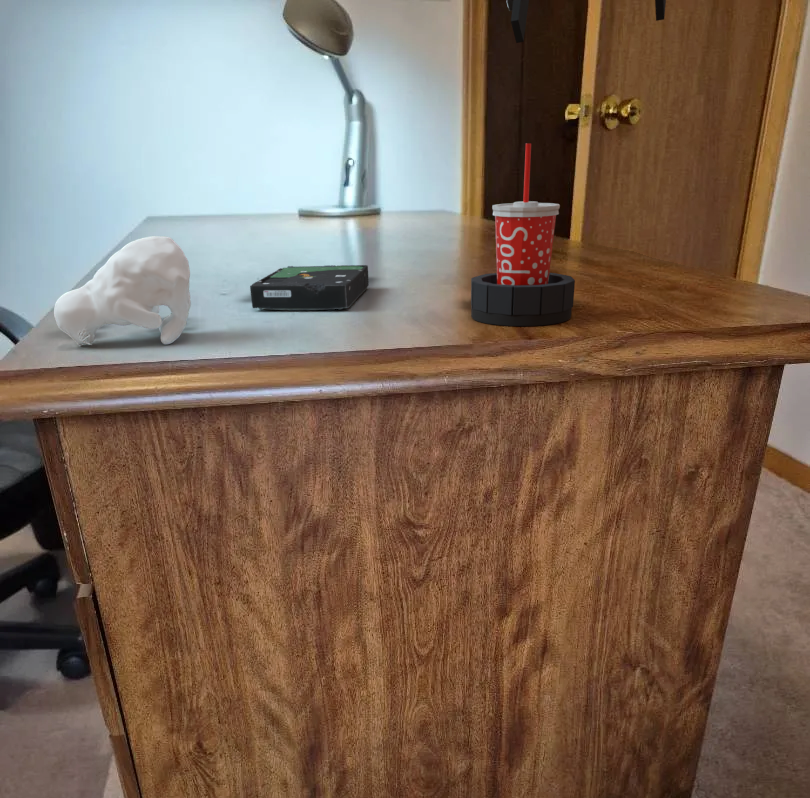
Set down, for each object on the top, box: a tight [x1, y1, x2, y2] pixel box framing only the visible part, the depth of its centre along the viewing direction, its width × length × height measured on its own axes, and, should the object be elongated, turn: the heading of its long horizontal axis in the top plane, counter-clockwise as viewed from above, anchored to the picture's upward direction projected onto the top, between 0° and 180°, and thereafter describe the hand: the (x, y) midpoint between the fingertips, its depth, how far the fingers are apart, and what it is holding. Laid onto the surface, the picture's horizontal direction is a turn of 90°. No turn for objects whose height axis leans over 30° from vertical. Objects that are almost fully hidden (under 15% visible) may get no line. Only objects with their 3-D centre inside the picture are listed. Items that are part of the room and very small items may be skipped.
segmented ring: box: [470, 272, 576, 327], centre depth 76 cm, size 10×10×4 cm
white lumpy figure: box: [53, 235, 192, 346], centre depth 68 cm, size 6×8×12 cm
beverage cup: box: [491, 142, 561, 285], centre depth 73 cm, size 6×6×14 cm
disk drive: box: [249, 264, 370, 311], centre depth 87 cm, size 10×3×15 cm
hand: (586, 20), depth 76 cm, fingers open, 13 cm apart
